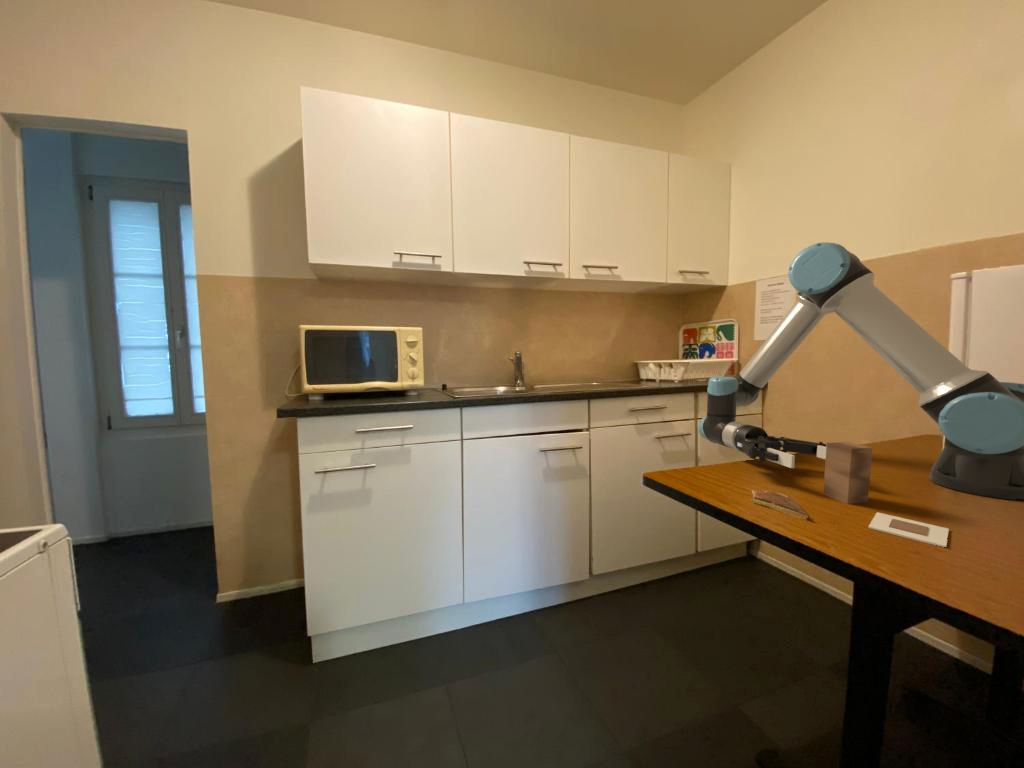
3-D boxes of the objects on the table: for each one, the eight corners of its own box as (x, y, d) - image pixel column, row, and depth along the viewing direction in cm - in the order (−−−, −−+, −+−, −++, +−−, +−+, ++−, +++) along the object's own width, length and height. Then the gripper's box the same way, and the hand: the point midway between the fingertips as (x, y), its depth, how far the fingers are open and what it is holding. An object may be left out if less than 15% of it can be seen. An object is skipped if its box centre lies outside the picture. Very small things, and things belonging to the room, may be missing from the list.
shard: (808, 524, 71) (809, 514, 71) (759, 517, 73) (759, 508, 73) (788, 501, 81) (789, 493, 81) (746, 497, 84) (746, 488, 83)
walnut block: (842, 493, 85) (846, 441, 84) (867, 501, 80) (872, 447, 79) (823, 494, 84) (826, 442, 83) (847, 503, 79) (851, 448, 78)
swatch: (948, 530, 67) (948, 527, 67) (946, 547, 61) (946, 544, 61) (876, 513, 74) (876, 511, 74) (868, 528, 68) (868, 525, 68)
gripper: (784, 449, 110) (865, 473, 89) (703, 454, 105) (768, 480, 84) (786, 422, 109) (868, 440, 88) (704, 426, 105) (771, 445, 84)
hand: (820, 460), depth 86 cm, fingers open, 13 cm apart
